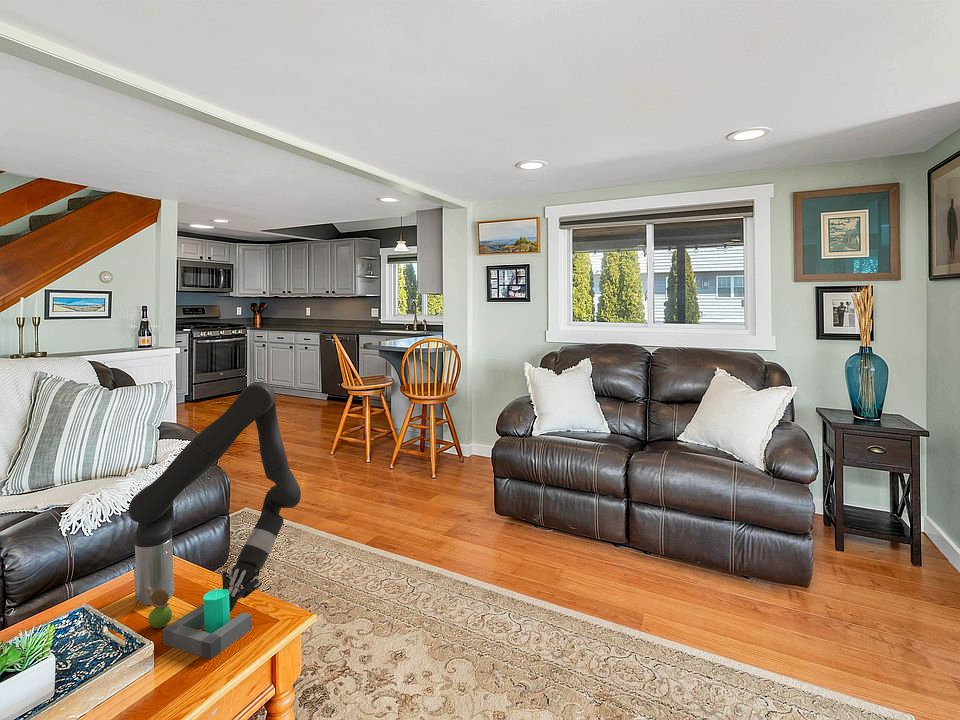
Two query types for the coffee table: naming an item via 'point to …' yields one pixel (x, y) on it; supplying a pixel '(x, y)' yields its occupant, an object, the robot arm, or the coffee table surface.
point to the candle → (216, 609)
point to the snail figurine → (158, 607)
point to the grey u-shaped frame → (204, 634)
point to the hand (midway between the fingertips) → (225, 611)
